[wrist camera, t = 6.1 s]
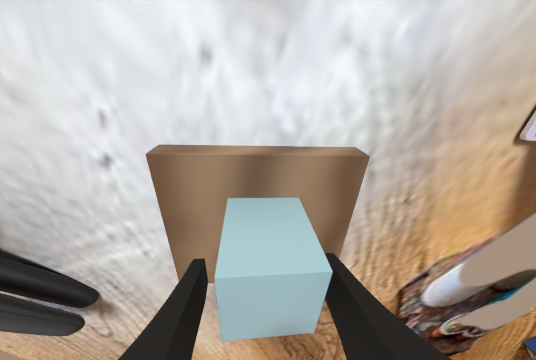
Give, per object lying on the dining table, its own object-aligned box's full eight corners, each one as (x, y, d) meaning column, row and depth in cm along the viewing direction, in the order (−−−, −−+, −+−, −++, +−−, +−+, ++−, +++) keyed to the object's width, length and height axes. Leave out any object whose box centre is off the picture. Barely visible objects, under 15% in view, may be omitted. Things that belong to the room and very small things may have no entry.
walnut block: (351, 145, 15) (369, 156, 13) (324, 254, 20) (333, 275, 18) (162, 142, 13) (145, 154, 11) (188, 261, 19) (180, 284, 17)
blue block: (298, 197, 14) (332, 271, 8) (291, 248, 16) (314, 333, 10) (227, 198, 13) (214, 278, 8) (230, 251, 15) (221, 341, 10)
